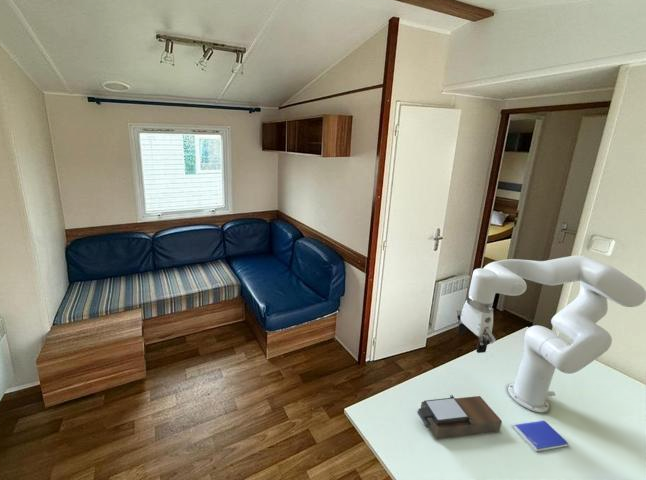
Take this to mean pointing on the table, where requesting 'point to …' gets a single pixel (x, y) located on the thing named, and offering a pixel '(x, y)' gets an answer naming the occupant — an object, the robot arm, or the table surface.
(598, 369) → the table surface
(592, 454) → the table surface
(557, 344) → the robot arm
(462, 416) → the device
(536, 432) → the hard drive
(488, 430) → the stand
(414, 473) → the table surface
